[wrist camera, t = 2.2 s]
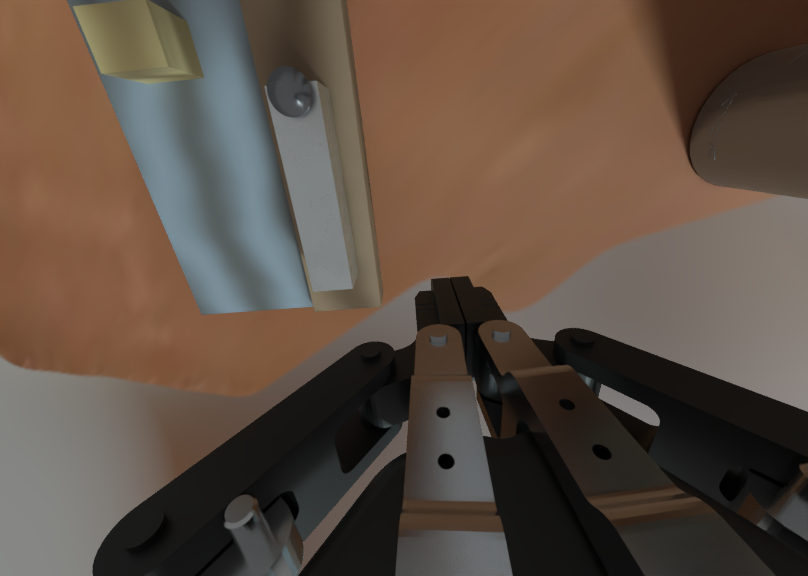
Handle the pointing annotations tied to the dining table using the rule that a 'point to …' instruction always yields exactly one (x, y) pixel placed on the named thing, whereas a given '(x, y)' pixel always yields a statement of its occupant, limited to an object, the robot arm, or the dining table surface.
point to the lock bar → (313, 176)
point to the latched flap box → (232, 138)
